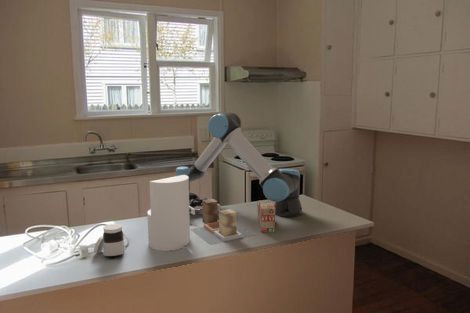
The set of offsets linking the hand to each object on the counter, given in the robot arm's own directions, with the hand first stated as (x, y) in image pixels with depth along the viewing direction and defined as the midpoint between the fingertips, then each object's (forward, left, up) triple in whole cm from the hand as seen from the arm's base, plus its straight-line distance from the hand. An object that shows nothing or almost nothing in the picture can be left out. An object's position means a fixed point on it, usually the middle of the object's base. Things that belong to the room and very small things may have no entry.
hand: (207, 210), depth 194 cm
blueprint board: (+2, +19, -6) cm, 19 cm away
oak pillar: (+2, +24, -5) cm, 24 cm away
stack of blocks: (-21, +20, -6) cm, 29 cm away
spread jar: (+50, +16, -6) cm, 53 cm away
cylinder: (+26, +16, -6) cm, 31 cm away
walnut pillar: (0, +2, -6) cm, 6 cm away
